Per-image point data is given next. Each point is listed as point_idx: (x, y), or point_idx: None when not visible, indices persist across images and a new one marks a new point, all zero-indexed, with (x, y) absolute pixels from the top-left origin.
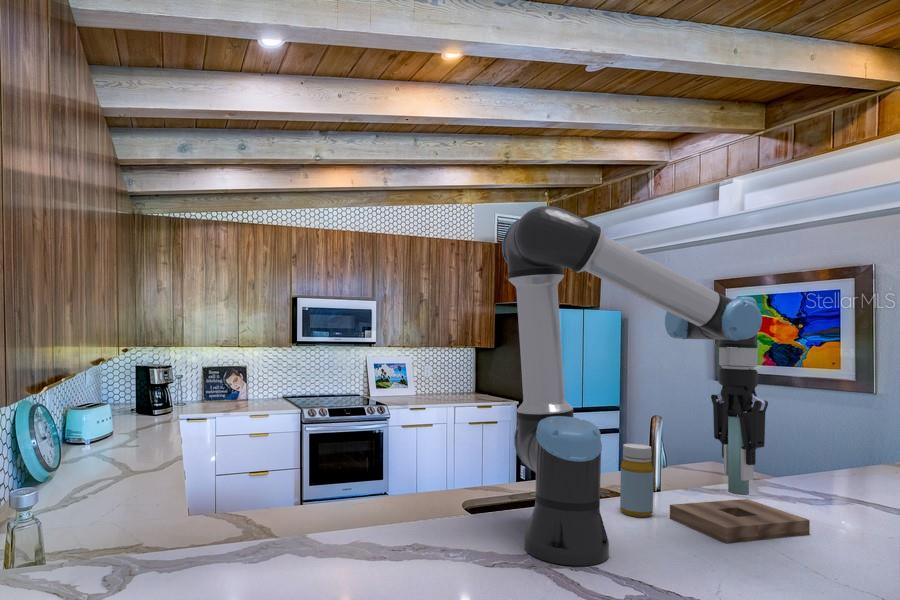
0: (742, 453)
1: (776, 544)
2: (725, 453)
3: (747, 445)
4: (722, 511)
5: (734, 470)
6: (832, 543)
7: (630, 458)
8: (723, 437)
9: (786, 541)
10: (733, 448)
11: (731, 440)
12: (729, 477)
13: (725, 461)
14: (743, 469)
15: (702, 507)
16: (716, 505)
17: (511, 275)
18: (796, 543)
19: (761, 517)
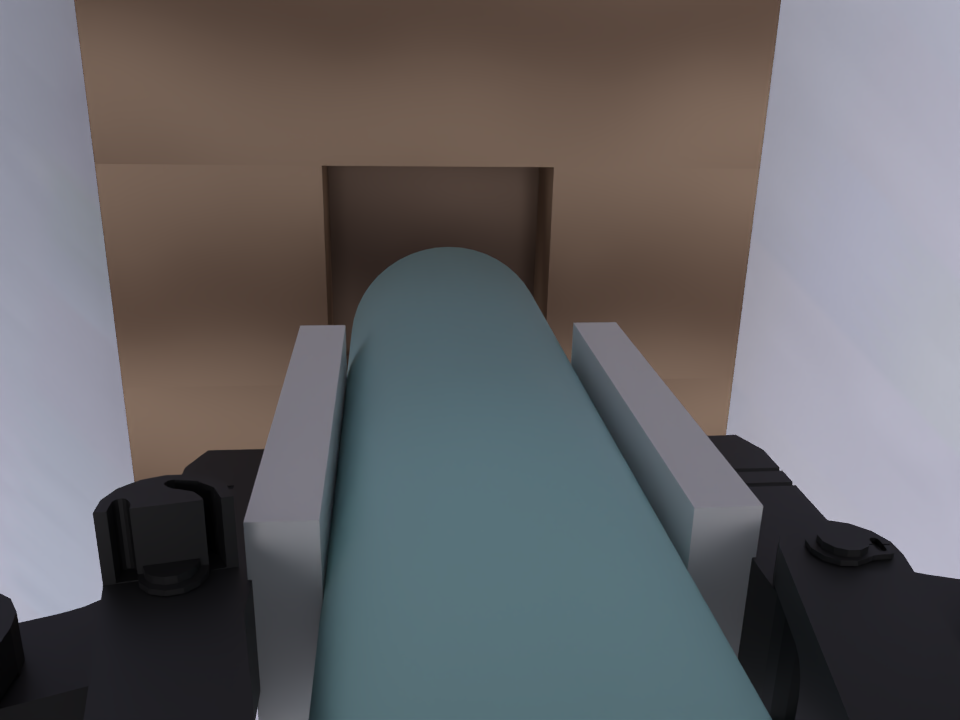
0: (278, 477)
1: (28, 210)
2: (664, 432)
3: (127, 594)
4: (484, 158)
5: (419, 328)
6: (11, 596)
7: None
8: (849, 600)
9: (80, 337)
10: (458, 461)
11: (525, 533)
12: (492, 291)
13: (629, 382)
14: (287, 375)
15: (630, 65)
16: (639, 248)
17: None
18: (34, 371)
19: (271, 359)
